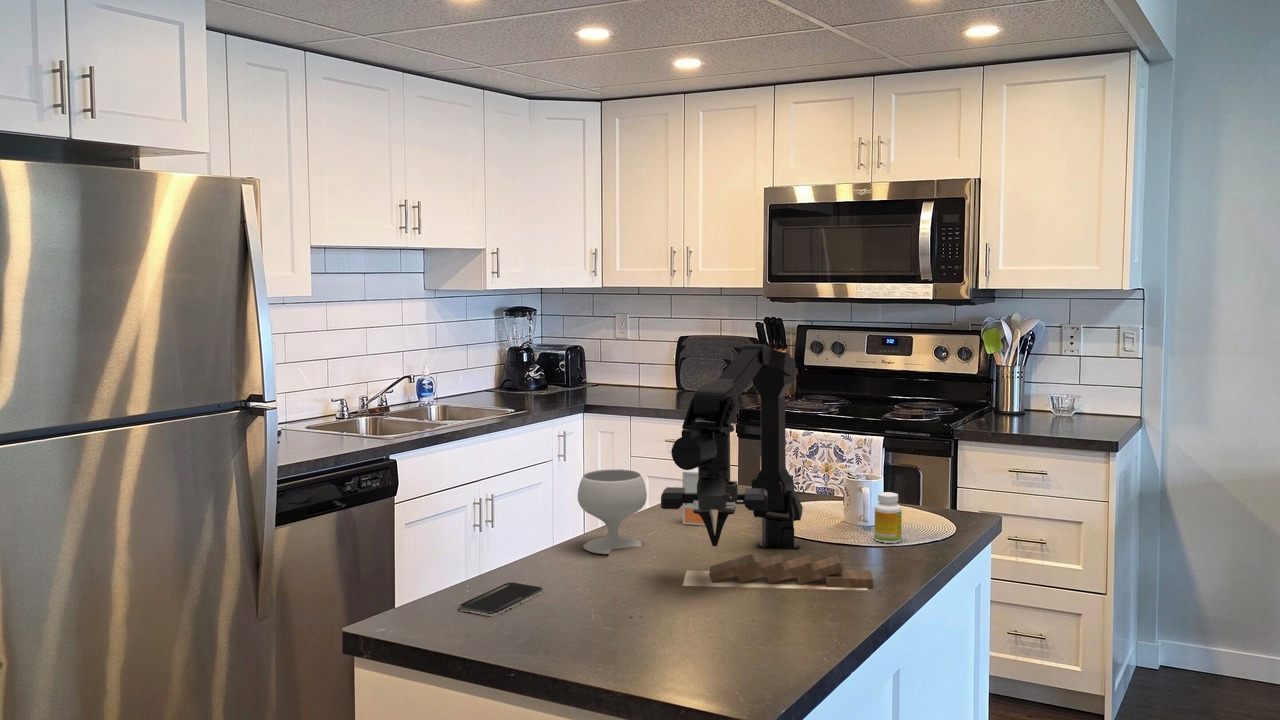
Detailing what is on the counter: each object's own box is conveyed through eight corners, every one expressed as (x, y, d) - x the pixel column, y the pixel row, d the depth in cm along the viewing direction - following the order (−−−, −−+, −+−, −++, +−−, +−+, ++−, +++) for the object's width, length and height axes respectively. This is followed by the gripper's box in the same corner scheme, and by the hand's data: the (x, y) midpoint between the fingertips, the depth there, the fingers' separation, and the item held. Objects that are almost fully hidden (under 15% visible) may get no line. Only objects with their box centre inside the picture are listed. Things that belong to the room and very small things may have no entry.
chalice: (629, 535, 223) (627, 465, 222) (659, 551, 211) (658, 477, 209) (568, 544, 217) (566, 472, 216) (595, 561, 205) (594, 485, 203)
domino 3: (766, 575, 185) (810, 562, 184) (766, 567, 190) (809, 554, 189) (769, 584, 185) (813, 571, 184) (769, 575, 190) (812, 562, 189)
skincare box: (682, 525, 231) (681, 471, 230) (687, 520, 235) (686, 467, 234) (709, 526, 229) (708, 472, 228) (713, 521, 233) (713, 468, 232)
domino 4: (796, 576, 185) (840, 562, 184) (795, 568, 190) (838, 554, 188) (799, 584, 185) (843, 571, 184) (798, 576, 190) (840, 562, 189)
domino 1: (709, 574, 187) (752, 561, 185) (710, 566, 192) (752, 553, 190) (712, 582, 187) (755, 569, 186) (713, 574, 192) (755, 561, 190)
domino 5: (826, 577, 183) (872, 579, 182) (824, 569, 188) (870, 570, 187) (826, 586, 183) (872, 588, 182) (824, 578, 188) (870, 579, 187)
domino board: (682, 591, 185) (682, 585, 185) (686, 575, 194) (686, 570, 194) (867, 595, 181) (867, 590, 181) (863, 579, 190) (863, 574, 190)
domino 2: (737, 575, 186) (780, 561, 185) (738, 566, 191) (780, 553, 190) (740, 583, 186) (783, 570, 185) (741, 574, 191) (783, 562, 190)
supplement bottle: (901, 544, 213) (902, 497, 212) (874, 543, 214) (874, 496, 213) (900, 537, 218) (901, 491, 217) (874, 536, 219) (874, 490, 218)
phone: (456, 606, 177) (509, 581, 190) (456, 612, 177) (509, 587, 190) (493, 613, 173) (545, 587, 186) (493, 620, 173) (545, 594, 186)
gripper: (656, 468, 180) (658, 557, 182) (766, 469, 178) (767, 559, 179) (663, 456, 191) (664, 540, 193) (767, 457, 189) (767, 542, 190)
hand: (714, 545), depth 189 cm, fingers closed
